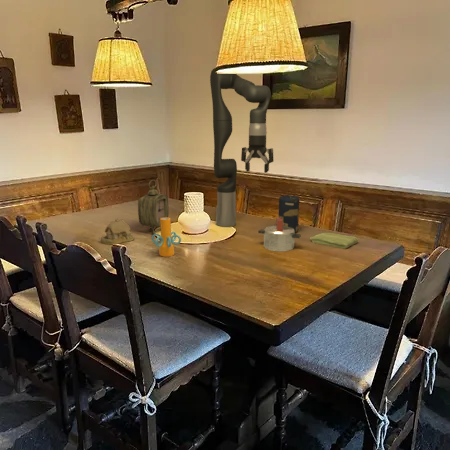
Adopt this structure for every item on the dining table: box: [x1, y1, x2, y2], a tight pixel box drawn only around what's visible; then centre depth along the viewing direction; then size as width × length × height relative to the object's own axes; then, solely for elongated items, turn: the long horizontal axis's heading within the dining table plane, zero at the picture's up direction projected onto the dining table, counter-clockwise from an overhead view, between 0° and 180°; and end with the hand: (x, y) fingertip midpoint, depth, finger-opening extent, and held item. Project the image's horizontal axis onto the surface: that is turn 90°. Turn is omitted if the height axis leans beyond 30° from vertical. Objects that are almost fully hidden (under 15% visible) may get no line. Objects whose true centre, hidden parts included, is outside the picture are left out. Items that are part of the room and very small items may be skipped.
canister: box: [278, 194, 300, 233], centre depth 203 cm, size 10×10×18 cm
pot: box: [257, 228, 302, 252], centre depth 182 cm, size 18×12×7 cm
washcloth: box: [309, 232, 359, 250], centre depth 188 cm, size 13×18×3 cm
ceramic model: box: [100, 218, 135, 245], centre depth 191 cm, size 14×11×10 cm
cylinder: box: [151, 217, 182, 258], centre depth 171 cm, size 12×10×15 cm
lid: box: [264, 217, 294, 236], centre depth 180 cm, size 12×12×6 cm
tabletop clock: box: [137, 179, 169, 235], centre depth 203 cm, size 14×9×25 cm, turn 161°
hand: (256, 171), depth 188 cm, fingers open, 8 cm apart
